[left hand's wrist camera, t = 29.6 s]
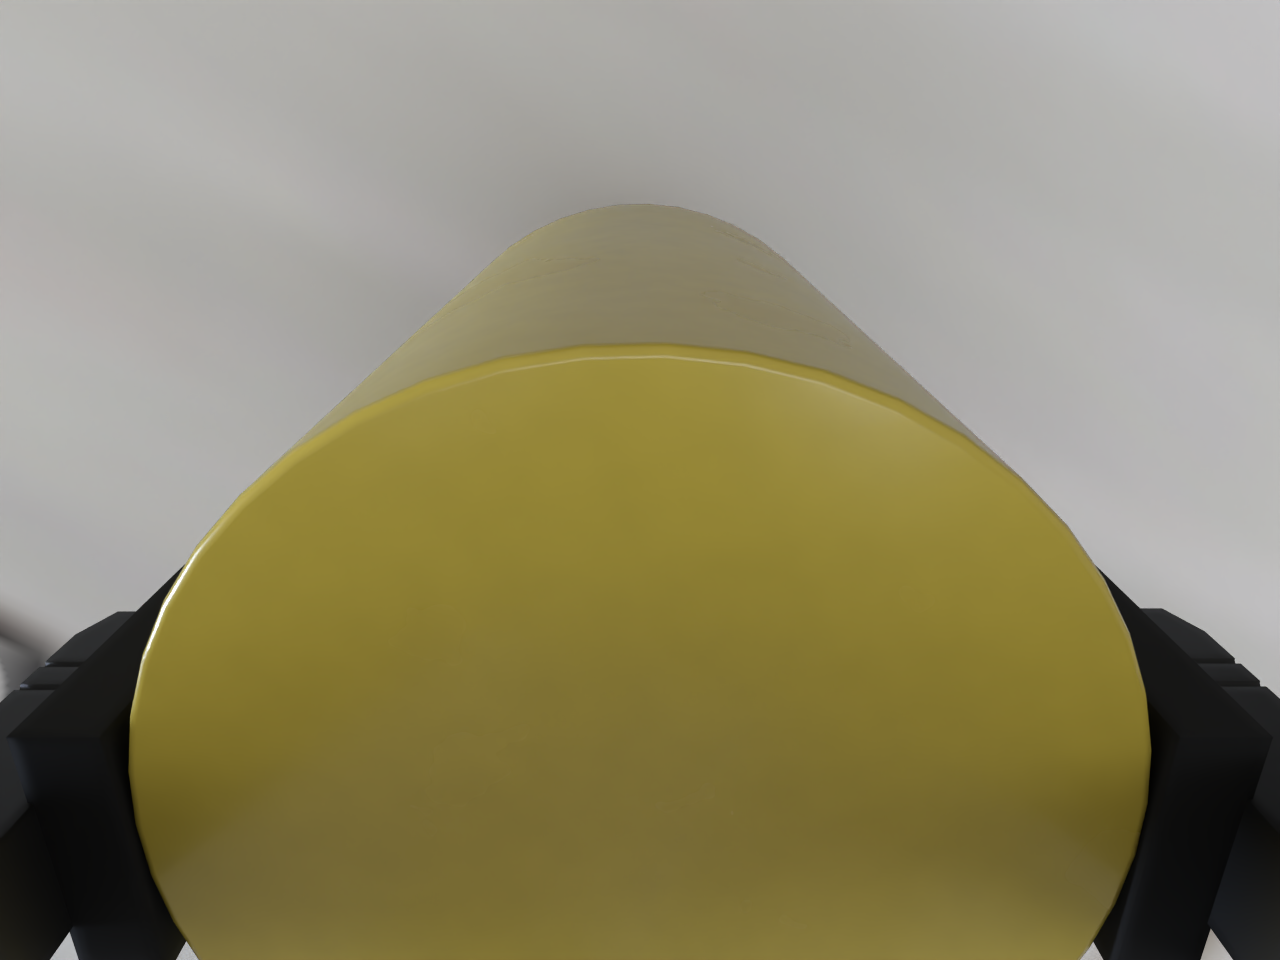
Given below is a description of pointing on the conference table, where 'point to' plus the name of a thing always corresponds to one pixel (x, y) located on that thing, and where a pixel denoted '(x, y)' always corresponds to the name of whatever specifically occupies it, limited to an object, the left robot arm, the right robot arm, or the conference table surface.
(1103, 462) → the conference table surface
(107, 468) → the conference table surface
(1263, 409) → the conference table surface
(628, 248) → the cylinder
